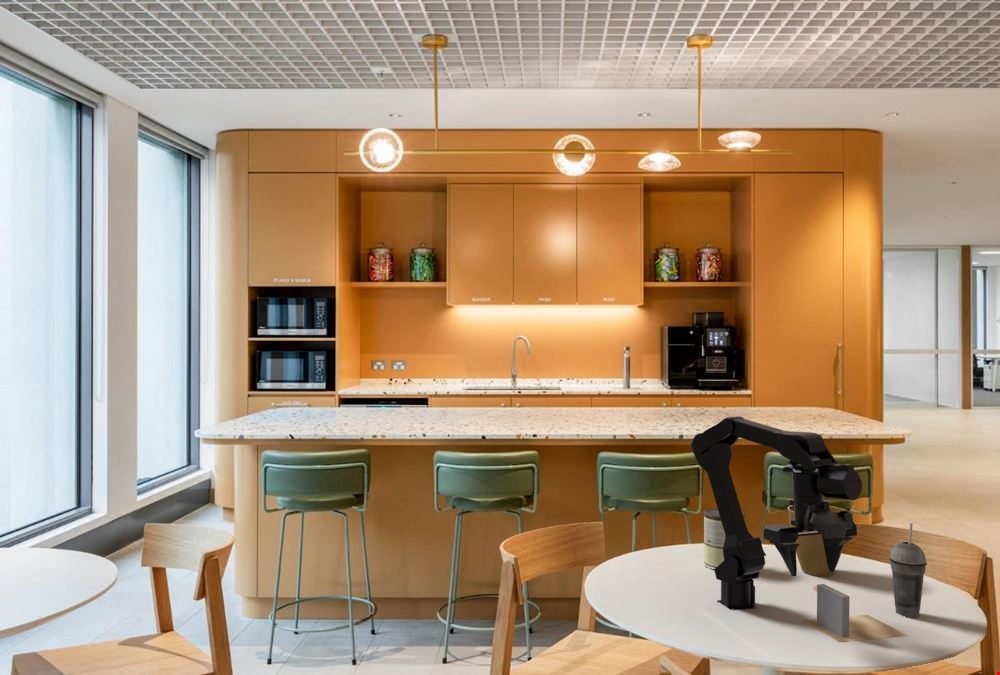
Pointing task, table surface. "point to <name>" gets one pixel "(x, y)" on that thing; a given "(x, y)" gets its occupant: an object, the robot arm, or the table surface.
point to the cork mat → (860, 629)
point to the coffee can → (713, 538)
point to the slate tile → (833, 610)
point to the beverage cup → (907, 576)
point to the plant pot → (812, 550)
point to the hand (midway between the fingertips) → (813, 573)
